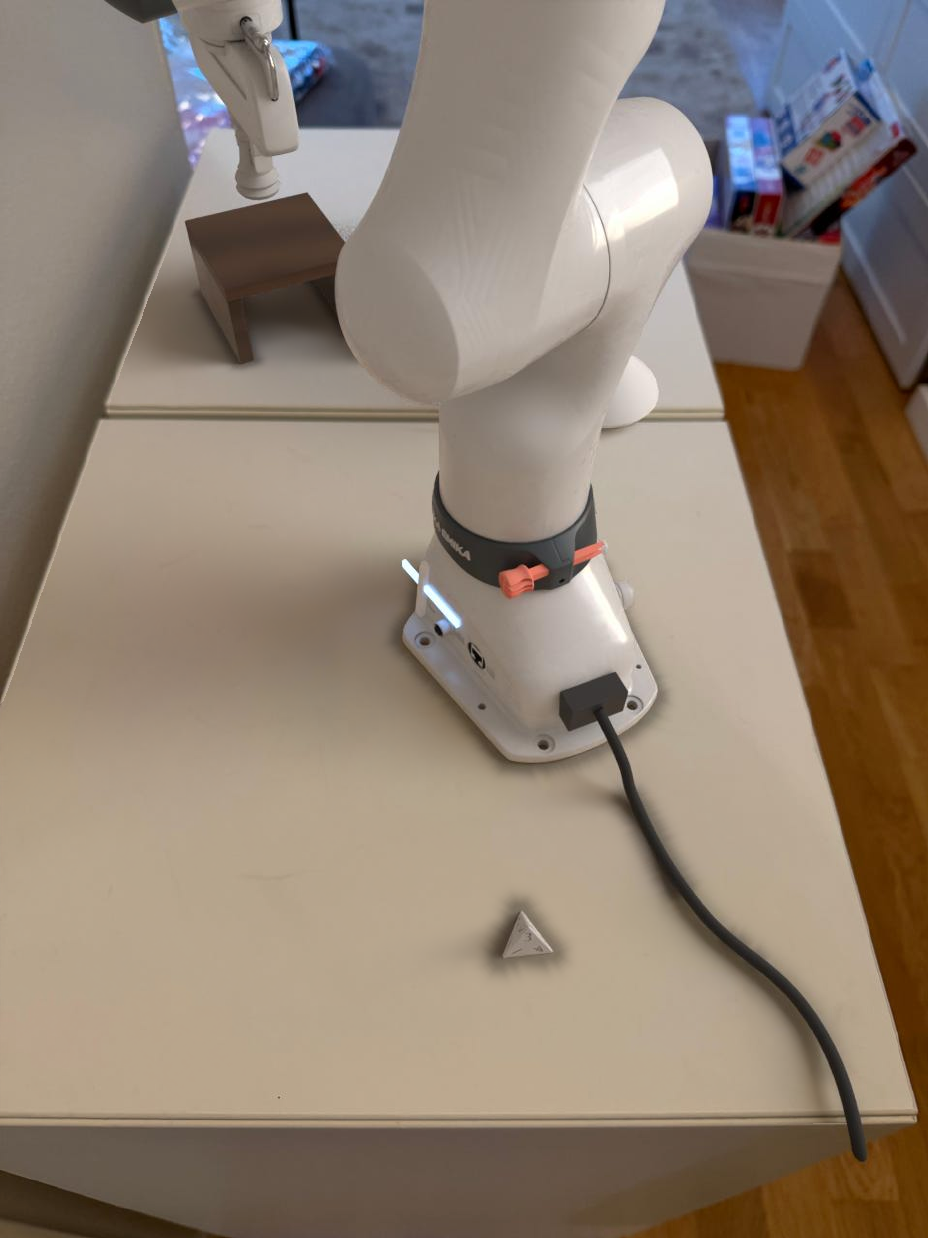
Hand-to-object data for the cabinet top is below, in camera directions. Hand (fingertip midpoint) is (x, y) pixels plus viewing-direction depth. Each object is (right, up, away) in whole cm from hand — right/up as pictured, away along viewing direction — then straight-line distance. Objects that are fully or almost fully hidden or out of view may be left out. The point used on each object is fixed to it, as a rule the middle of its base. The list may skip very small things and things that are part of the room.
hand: (255, 159), depth 90 cm
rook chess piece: (0, -2, +3) cm, 3 cm away
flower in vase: (+35, -22, +6) cm, 41 cm away
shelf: (0, -10, +14) cm, 17 cm away
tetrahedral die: (+25, -67, -28) cm, 77 cm away
